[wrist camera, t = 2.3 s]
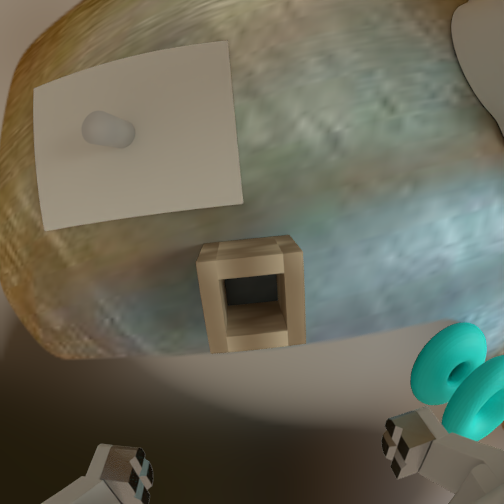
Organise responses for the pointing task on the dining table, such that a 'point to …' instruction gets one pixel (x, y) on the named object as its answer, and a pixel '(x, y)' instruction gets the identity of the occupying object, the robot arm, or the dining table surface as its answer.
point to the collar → (254, 314)
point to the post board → (138, 137)
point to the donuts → (461, 381)
